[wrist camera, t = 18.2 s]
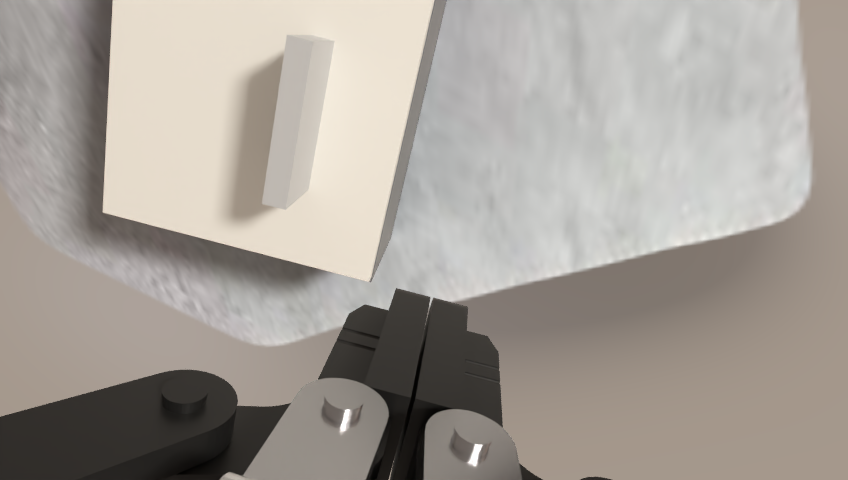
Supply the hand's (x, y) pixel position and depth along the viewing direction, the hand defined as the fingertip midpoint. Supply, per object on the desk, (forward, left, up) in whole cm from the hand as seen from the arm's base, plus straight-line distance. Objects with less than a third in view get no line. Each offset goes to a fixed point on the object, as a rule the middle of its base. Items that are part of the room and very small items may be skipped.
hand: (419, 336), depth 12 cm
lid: (-11, 0, -21) cm, 23 cm away
